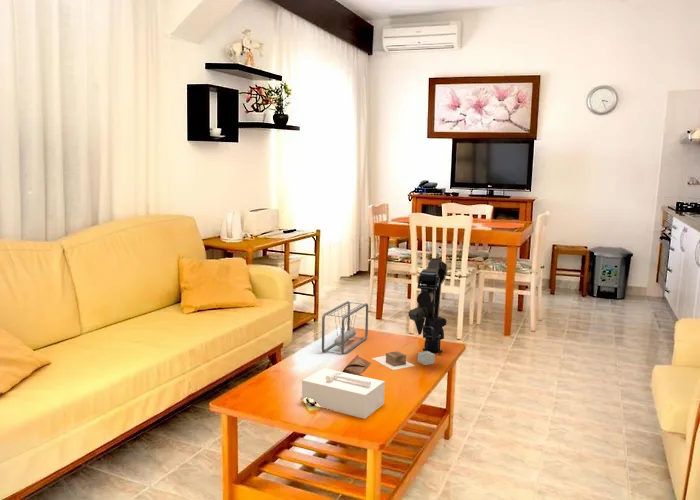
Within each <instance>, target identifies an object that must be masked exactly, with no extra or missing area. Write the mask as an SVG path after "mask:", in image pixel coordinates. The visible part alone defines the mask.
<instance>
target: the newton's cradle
mask: <svg viewBox="0 0 700 500" xmlns="http://www.w3.org/2000/svg"><path fill="white" fill-rule="evenodd" d="M351 304H354V305H355V304H356V305H357V306H354V307H353V308H351V307H352V305H351ZM346 307H347V308H346ZM363 308H365V325H364V326H365V328H364V329H365V332H364V334H365V335H364V337H361V336H360V337H359V336H356V334H357V331H356V329H355V328H354V326H355V324H353V326H352V325H351V324H352V321H353V320H351V319H353V317H354V316H355V317H354V318H356V317H357V314H356V313H357V312H358V311H360V310H362V309H363ZM343 309H345V310H344V311H343ZM339 311H340V313H339ZM343 312H344V313H343ZM336 313H337V315H336ZM339 314H340V315H339ZM354 314H355V315H354ZM351 315H352V316H351ZM353 315H354V316H353ZM326 316H329V317H330V316H331V317H335V318H334V320H335V322H337V320H336V318H337V317H338V318H341V320H340V319H338V320H339V321H338V322H339V323H341V325H339V326H340V330H341V331H340V334H338V332H336V334H337V337H336V338H335V339H334V343H332V344H331V345H329V346H328V347H327V348H325V324H326V323H325V321H326V320H325V319H326ZM321 317H322V318H321V352H322V353H331V354H338V355H347V354H348V353H350V352H351V351H353V350H354V349H355V348H357V347H358V346H359V345H361V344H362V343H363V342H364V341H365V340H367V338H368V334H369V332H368V331H369V304H368V303H359V302H351V301H349V300H346V301H345V302H343V303H341V304H339V305H337V306H336V307H333V308H332V309H330V310H328V311H327V312H325V313H323V314H322V316H321ZM351 317H352V318H351ZM355 320H356V319H354V321H353V323H355V322H356V321H355ZM340 321H341V322H340ZM345 321H346V322H345ZM345 326H346V327H347V328H346V327H345ZM335 329H338V326H337V325H336V326H335ZM352 338H353V339H354V338H355V339H361V340H359V341H357V343H355V344H354V345H352V346H351V347H349V348H348V349H347V350H346V351H345V346H344V345H345V343H346V342H348V341H349V340H350V339H352ZM335 346H337V347H341V348H340V352H335V351H330V350H331V349H332V348H334V347H335Z"/></svg>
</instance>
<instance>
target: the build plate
mask: <svg viewBox="0 0 700 500" xmlns="http://www.w3.org/2000/svg"><path fill="white" fill-rule="evenodd" d="M371 359H372V360H373V361H376V362H377V363H379V364H381V365H383V366H385V367H387V368H388V369H390V370H393V371H395V370H399V369H405V368H409V367H415V364H413V363H410V362H409V361H407V360H406V364H405V365H400V366H395V367H394V366H392V365H390V364H388V363H386V355H383V356H382V355H381V356H377V357H371Z"/></svg>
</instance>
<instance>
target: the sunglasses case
mask: <svg viewBox="0 0 700 500" xmlns="http://www.w3.org/2000/svg"><path fill="white" fill-rule="evenodd" d="M371 364H372V363H371V362H370V361H368V360H366V359H364V358H363V357H360V356H359V355H358V354H357V355H356V356H355V357H354V358H352V359H351V361H350V362H348V364H347V365H346V366H345V367H344V368H343V370H342V372H344V373H349V374H353V375H358V376H363V375H362V374H363V373H365V372H366V370H367V369H368V367H370V366H371Z"/></svg>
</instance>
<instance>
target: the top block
mask: <svg viewBox="0 0 700 500" xmlns="http://www.w3.org/2000/svg"><path fill="white" fill-rule="evenodd" d="M435 358H436V353H431V352H429V351H424V350H423V351H420V352H417V362H418V363H420V364H422V365H423V366H428V365H432V364H435Z"/></svg>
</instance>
